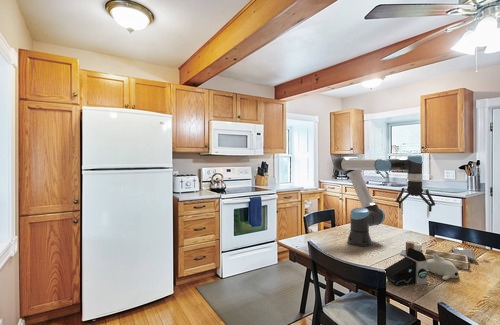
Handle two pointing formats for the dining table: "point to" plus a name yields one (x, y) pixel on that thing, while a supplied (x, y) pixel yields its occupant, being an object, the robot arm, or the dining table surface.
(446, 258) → the birch crate
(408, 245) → the walnut block
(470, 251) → the lying tin can
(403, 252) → the slate coaster
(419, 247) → the ramekin
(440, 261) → the toy
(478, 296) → the dining table surface
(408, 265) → the decorative object
